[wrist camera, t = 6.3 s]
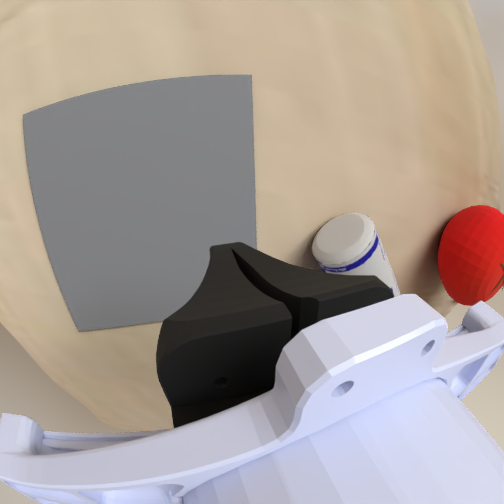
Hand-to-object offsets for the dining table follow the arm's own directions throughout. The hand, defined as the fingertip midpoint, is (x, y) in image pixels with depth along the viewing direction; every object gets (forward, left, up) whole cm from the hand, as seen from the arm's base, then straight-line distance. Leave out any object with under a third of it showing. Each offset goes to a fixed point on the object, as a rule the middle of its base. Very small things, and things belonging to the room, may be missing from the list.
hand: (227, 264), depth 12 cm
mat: (0, +4, -9) cm, 10 cm away
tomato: (-7, -32, -10) cm, 34 cm away
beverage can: (-2, -10, -7) cm, 12 cm away
